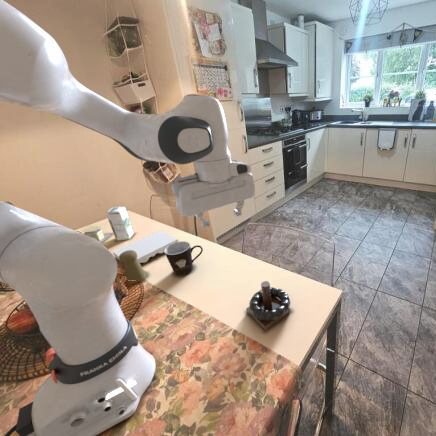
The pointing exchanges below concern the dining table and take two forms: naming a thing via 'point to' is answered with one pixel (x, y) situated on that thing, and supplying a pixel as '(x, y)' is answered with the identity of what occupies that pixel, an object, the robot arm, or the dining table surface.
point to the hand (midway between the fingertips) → (222, 221)
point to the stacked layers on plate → (96, 233)
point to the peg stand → (267, 305)
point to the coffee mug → (181, 257)
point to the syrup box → (120, 223)
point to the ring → (272, 313)
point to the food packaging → (148, 246)
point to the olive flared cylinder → (132, 267)
